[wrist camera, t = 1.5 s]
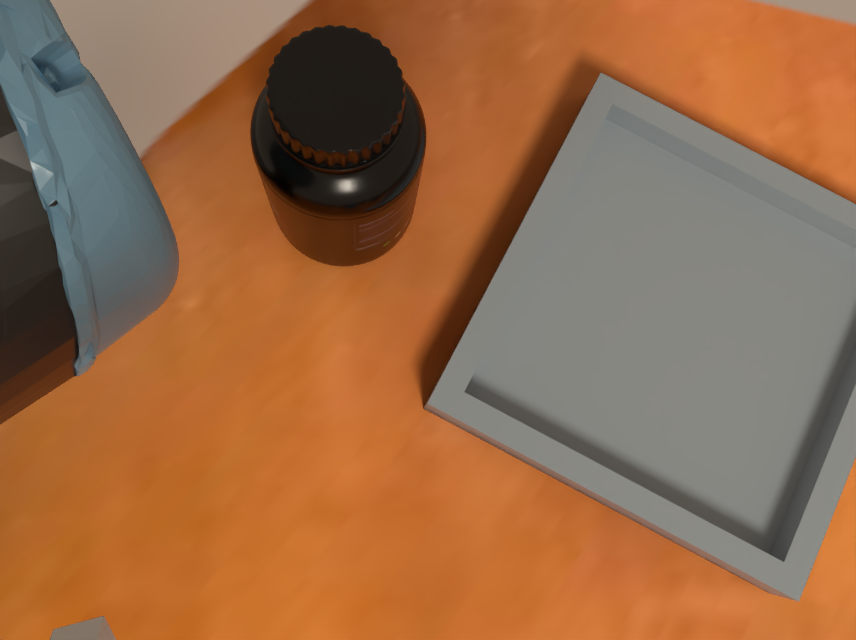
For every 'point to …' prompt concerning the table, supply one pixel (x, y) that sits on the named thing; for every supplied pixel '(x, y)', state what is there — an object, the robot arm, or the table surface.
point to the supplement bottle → (339, 145)
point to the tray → (674, 339)
